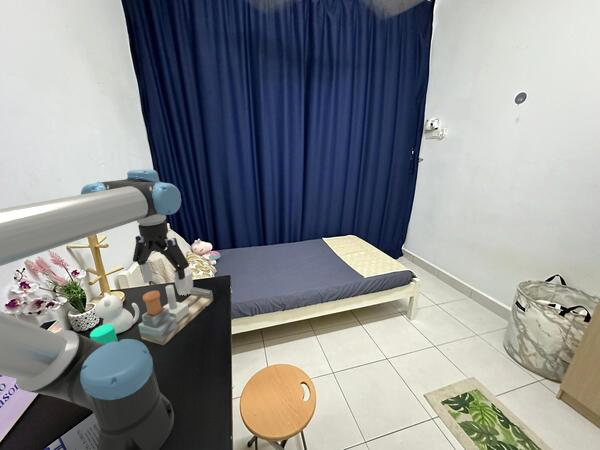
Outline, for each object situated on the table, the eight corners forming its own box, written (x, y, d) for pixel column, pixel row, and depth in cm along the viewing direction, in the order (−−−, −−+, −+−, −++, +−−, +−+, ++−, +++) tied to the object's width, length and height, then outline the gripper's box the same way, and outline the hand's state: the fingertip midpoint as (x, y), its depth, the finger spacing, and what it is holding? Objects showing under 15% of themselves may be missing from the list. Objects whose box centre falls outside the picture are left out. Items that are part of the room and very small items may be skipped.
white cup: (176, 289, 118) (173, 271, 115) (194, 285, 121) (191, 267, 118) (176, 298, 111) (172, 278, 108) (195, 293, 114) (192, 274, 111)
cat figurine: (102, 328, 93) (90, 294, 89) (141, 314, 101) (131, 282, 96) (102, 342, 87) (89, 306, 82) (143, 326, 94) (134, 293, 89)
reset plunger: (154, 318, 84) (150, 300, 81) (143, 315, 85) (139, 297, 83) (166, 309, 88) (162, 292, 86) (155, 306, 90) (151, 289, 87)
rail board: (163, 345, 85) (157, 321, 82) (141, 338, 88) (135, 315, 85) (213, 300, 109) (210, 280, 106) (194, 296, 112) (191, 277, 109)
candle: (109, 365, 77) (99, 334, 74) (93, 362, 79) (82, 331, 75) (125, 350, 83) (117, 320, 79) (110, 347, 84) (101, 318, 80)
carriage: (177, 322, 91) (171, 292, 88) (160, 317, 94) (154, 289, 90) (189, 312, 97) (183, 284, 93) (173, 308, 99) (167, 280, 95)
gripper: (195, 221, 74) (204, 284, 80) (132, 216, 81) (145, 273, 88) (176, 229, 67) (187, 296, 73) (110, 222, 75) (125, 284, 81)
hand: (164, 284), depth 80 cm, fingers open, 13 cm apart
